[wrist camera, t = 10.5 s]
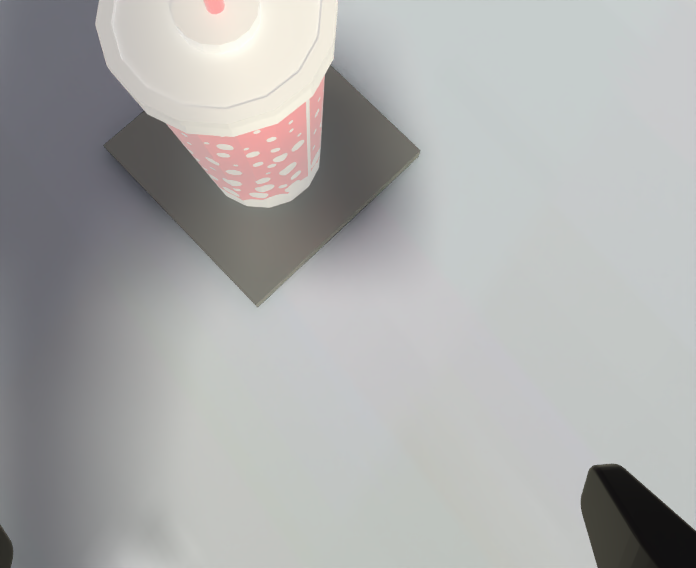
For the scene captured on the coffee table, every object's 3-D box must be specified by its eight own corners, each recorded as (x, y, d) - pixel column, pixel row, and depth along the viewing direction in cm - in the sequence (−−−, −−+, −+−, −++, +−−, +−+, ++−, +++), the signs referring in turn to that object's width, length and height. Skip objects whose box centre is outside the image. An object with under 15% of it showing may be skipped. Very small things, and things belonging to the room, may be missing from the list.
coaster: (257, 307, 23) (255, 305, 23) (108, 151, 24) (103, 145, 24) (418, 156, 24) (420, 150, 24) (269, 14, 26) (267, 5, 25)
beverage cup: (253, 54, 25) (139, -377, 11) (370, 140, 24) (408, -202, 10) (155, 165, 24) (-106, -153, 10) (274, 257, 23) (173, 55, 9)
